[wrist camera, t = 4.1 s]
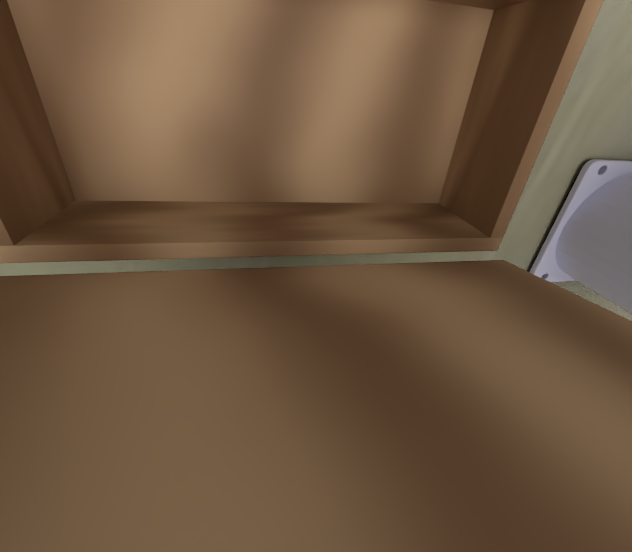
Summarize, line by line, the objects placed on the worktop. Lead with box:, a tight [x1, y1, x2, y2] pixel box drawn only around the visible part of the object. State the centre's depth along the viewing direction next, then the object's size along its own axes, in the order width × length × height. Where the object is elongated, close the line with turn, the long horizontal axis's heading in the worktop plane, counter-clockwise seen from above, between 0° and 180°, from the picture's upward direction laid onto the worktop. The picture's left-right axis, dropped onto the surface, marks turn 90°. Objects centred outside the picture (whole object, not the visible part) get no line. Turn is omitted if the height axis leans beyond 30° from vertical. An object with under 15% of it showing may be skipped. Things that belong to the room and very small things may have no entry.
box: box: [0, 0, 604, 263], centre depth 11 cm, size 18×9×5 cm, turn 86°
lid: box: [0, 260, 632, 552], centre depth 7 cm, size 18×10×1 cm
